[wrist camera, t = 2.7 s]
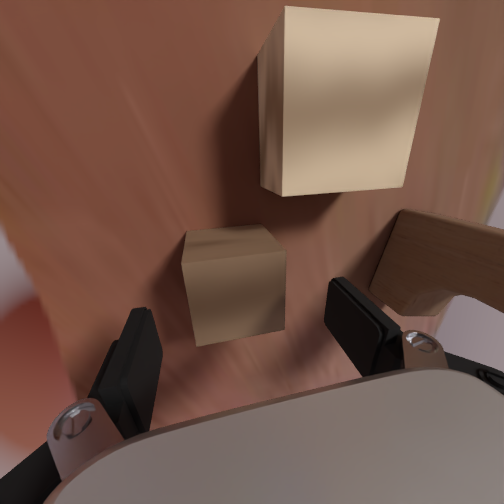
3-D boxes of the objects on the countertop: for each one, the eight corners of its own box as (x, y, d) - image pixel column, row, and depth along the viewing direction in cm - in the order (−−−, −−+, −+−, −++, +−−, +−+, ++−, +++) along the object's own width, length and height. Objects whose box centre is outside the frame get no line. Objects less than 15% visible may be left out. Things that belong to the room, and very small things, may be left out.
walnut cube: (262, 285, 21) (284, 329, 16) (197, 295, 20) (196, 346, 14) (261, 223, 19) (286, 250, 13) (186, 230, 17) (181, 263, 12)
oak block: (353, 179, 19) (402, 187, 14) (260, 186, 17) (282, 196, 13) (369, 59, 15) (439, 18, 11) (257, 54, 14) (285, 6, 9)
